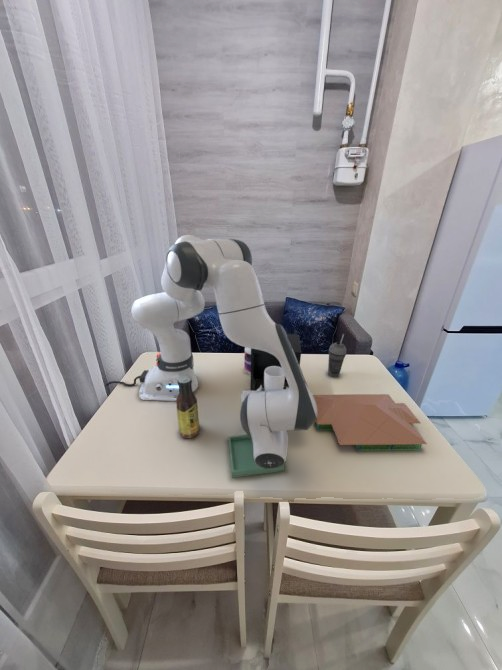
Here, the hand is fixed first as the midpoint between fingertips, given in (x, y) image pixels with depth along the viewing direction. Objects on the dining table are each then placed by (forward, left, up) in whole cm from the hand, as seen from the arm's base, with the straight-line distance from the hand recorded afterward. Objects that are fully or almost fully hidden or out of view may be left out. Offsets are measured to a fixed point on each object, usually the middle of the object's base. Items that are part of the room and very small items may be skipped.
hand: (273, 387), depth 88 cm
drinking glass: (0, -1, -8) cm, 8 cm away
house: (+29, -10, -11) cm, 32 cm away
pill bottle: (-2, +27, -11) cm, 29 cm away
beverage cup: (+32, +19, -11) cm, 38 cm away
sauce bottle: (-28, -5, -11) cm, 31 cm away
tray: (-9, -17, -11) cm, 22 cm away
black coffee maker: (+3, +12, -11) cm, 17 cm away
